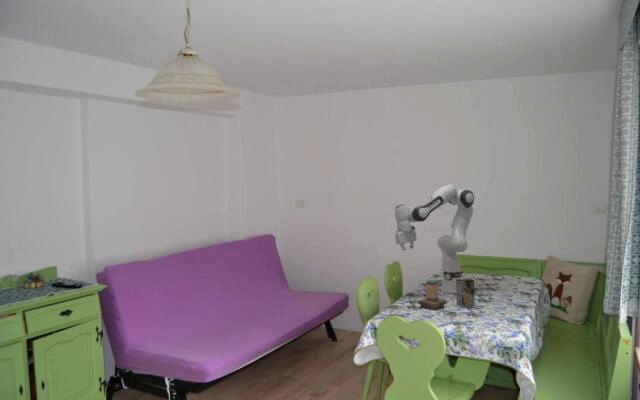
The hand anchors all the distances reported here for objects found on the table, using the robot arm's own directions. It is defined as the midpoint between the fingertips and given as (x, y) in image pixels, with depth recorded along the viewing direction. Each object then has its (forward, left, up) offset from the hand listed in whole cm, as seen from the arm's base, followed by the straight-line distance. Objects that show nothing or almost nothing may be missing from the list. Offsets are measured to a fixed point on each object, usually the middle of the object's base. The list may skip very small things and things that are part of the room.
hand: (408, 249), depth 332 cm
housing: (+12, +26, -28) cm, 40 cm away
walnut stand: (+12, +26, -32) cm, 43 cm away
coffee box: (-5, +39, -32) cm, 51 cm away
